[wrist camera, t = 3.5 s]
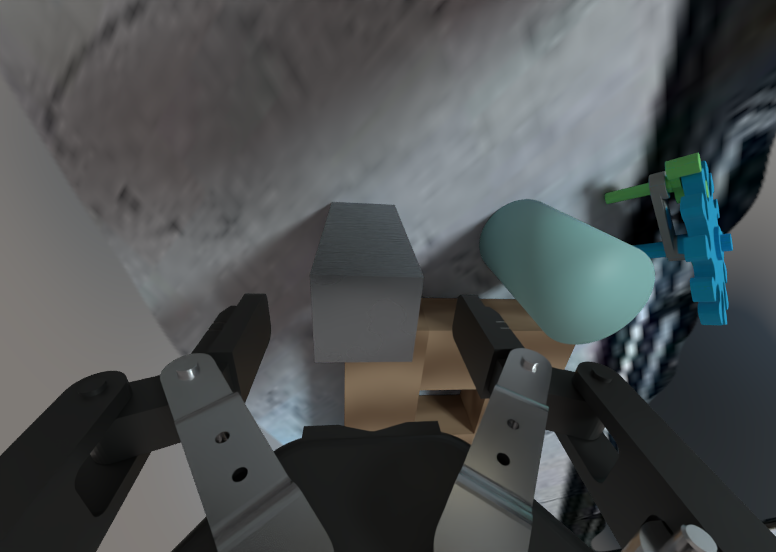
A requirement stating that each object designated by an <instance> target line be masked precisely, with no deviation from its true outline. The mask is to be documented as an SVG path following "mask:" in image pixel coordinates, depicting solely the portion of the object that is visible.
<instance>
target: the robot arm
mask: <svg viewBox="0 0 776 552" xmlns="http://www.w3.org/2000/svg"><path fill="white" fill-rule="evenodd" d="M452 334H453V339H454V341H455V343H456V345H457V348H458V350H459V352H460V354H461V356H462V359H463V361H464V363H465V365H466V368H467V370H468V372H469V374H470V376H471V379H472V381H473V383H474V385H475V387H476V390H477V392H478V394H479V396H480V399H489V402H488V404H487V407H486V409H485V412H484V414H483V417H482V419H481V422H480V424H479V427H478V429H477V432H476V434H475V437H474V439H473V442H472V444H469V443H468V442H466V441H464V440H462V439H461V438H458V437H456V436H454V435H451V434H448V433H444V432H441V430H440V426H439V423H438V421H419V422H405V423H401V424H398V425H394V426H391V427H388V428H384V429H381V430H377V431H367V430H362V429H356V428H351V427H346V426H341V425H325V426H304V429H303V435H302V438H300V439H297V440H294V441H292V442H289V443H287V444H285V445H283V446H281V447H280V448H278V449H276V450H275V451H273V450H272V449H271V447H270V445H269V443H268V442H267V440H266V438H265V437H264V435H263V433H262V432H261V430H260V428H259V427H258V425H257V423H256V421H255V420H254V418H253V416H252V415H251V413H250V411H249V410H248V408H247V406H246V405H245V402H246V399H247V397H248V394H249V392H250V389H251V386H252V384H253V381H254V379H255V376H256V374H257V371H258V369H259V366H260V364H261V361H262V358H263V356H264V353H265V351H266V348H267V346H268V343H269V340H270V336H271V323H270V315H269V308H268V301H267V296H266V294H244V296H243V297H242V299H241V300H240V302H239V304H238V305H237V306H230V307H228V308H227V309H225V310H224V311H222V312H221V313H220V314H219V315H218V317H217V318H216V319H215V321H214V323H213V324H212V325H211V326H210V328H209V331H207V332H206V333H205V335H204V336H203V338H202V339H201V341H200V342H199V343H198V345H197V346H196V348H195V349H194V350H193V352H192V353H191V354H189V355H185V356H182V357H180V358H178V359H176V360H174V361H172V362H171V363H169V364H168V365H167V366H166V367H165V368H164V369H163V370H162V372H161V374H160V375H158V376H155V377H151V378H146V379H142V380H138V381H133V382H128V380H127V377H126V375H125V374H124V373H122V372H118V371H106V372H100V373H97V374H94V375H91V376H88V377H86V378H83V379H81V380H80V381H78V382H76V383H74V384H73V385H71V386H70V387H69V388H68V389H66V390H65V391H64V392H63V393H62V394H61V395H60V396H59V397H58V398H57V399H56V400H55V402H53V403H52V404H51V405H50V406H49V407H48V408H47V409H46V410H45V411H44V412H43V413H42V414H41V415H40V416H39V417H38V418H37V419H36V420H35V421H34V422H33V423H32V424H31V425H30V426H29V427H28V428H27V429H26V430H25V431H24V432H23V433H22V434H21V436H19V437H18V438H17V440H16V441H14V443H12V445H10V446H9V448H8V449H7V450H6V451H5V452H4V453H3V454H2V455H1V456H0V552H96V551H97V549H98V547H99V545H100V544H101V542H102V540H103V538H104V536H105V535H106V533H107V531H108V529H109V527H110V525H111V524H112V522H113V520H114V518H115V516H116V515H117V512H118V511H119V509H120V507H121V506H122V504H123V502H124V500H125V498H126V497H127V494H128V493H129V491H130V489H131V487H132V486H133V484H134V482H135V480H136V478H137V477H138V475H139V473H140V471H141V469H142V468H143V466H144V464H145V462H146V460H147V458H148V457H149V455H150V453H151V451H155V450H158V449H161V448H164V447H168V446H171V445H174V444H177V443H180V442H181V443H182V446H183V449H184V452H185V455H186V458H187V461H188V464H189V467H190V469H191V472H192V476H193V479H194V482H195V485H196V487H197V490H198V493H199V496H200V499H201V502H202V505H203V508H204V511H205V514H206V517H205V518H204V519H203V520H202V521H201V522H200V523H199V524H198V525H197V526H196V528H194V530H192V531H191V532H190V533H189V534H188V535H187V536H186V538H184V539H183V540H182V541H181V542H180V543H179V544H178V545H177V546H176V547H175V548H174V549H173V550H172V551H171V552H594V551H593V550H592V549H591V548H590V547H588V546H587V545H586V544H585V543H584V542H583V541H582V540H580V539H579V538H578V537H577V536H576V535H575V534H574V533H572V532H571V531H570V530H569V529H568V528H567V527H566V526H564V525H563V524H562V523H561V522H560V521H559V520H558V519H556V518H555V517H554V516H553V515H552V514H551V513H550V512H548V511H547V510H546V509H545V508H544V507H543V506H542V505H540V504H539V503H538V502H537V501H536V500H535V499H534V494H535V488H536V482H537V476H538V470H539V464H540V458H541V452H542V446H543V440H544V434H545V430H549V431H553V432H555V434H556V435H557V437H558V439H559V441H560V442H561V444H562V446H563V448H564V449H565V451H566V453H567V455H568V456H569V458H570V460H571V461H572V463H573V465H574V467H575V468H576V470H577V472H578V474H579V475H580V477H581V479H582V481H583V482H584V484H585V486H586V487H587V489H588V491H589V493H590V494H591V496H592V498H593V500H594V501H595V503H596V505H597V507H598V508H599V510H600V512H601V513H602V515H603V517H604V519H605V520H606V522H607V524H608V525H609V527H610V529H611V530H612V533H613V534H614V536H615V538H616V539H617V541H618V543H619V545H620V546H621V548H622V552H776V536H775V535H774V534H773V533H772V532H771V531H770V530H769V529H768V528H767V527H766V526H765V525H764V524H763V523H762V522H761V521H760V520H759V519H758V518H757V517H756V516H755V515H754V514H753V513H752V512H751V510H749V508H748V507H747V506H746V505H744V503H743V502H742V501H741V500H740V499H739V498H738V497H737V496H736V495H735V494H734V493H733V492H732V491H731V490H730V489H729V488H728V487H727V486H726V485H725V484H724V483H723V482H722V480H721V479H720V478H719V477H718V476H717V475H716V474H715V473H714V472H713V471H712V470H711V469H710V468H709V467H708V466H707V465H706V464H705V463H704V462H703V461H702V460H701V459H700V458H699V457H698V456H697V455H696V454H695V452H693V450H692V449H691V448H690V447H689V446H688V445H687V444H686V443H685V442H684V441H683V440H682V439H681V438H680V437H679V436H678V435H677V434H676V433H675V432H674V431H673V430H672V429H671V428H670V427H669V426H668V425H667V424H666V422H664V420H663V419H662V418H661V417H660V416H659V415H658V414H657V413H656V412H655V411H654V410H653V409H652V408H651V407H650V406H649V405H648V404H647V403H646V402H645V401H644V400H643V399H642V398H641V397H640V396H639V395H638V393H637V392H636V391H635V390H634V389H633V388H632V387H631V386H630V385H629V384H628V383H627V382H626V381H625V380H624V379H623V378H622V377H621V376H620V375H619V374H618V373H616V372H615V371H613V370H612V369H610V368H608V367H606V366H604V365H601V364H598V363H595V362H582V363H580V364H579V365H578V367H577V369H576V371H575V372H572V371H567V370H563V369H558V368H554V367H552V365H551V363H550V362H549V361H548V360H547V359H546V358H545V357H544V356H543V355H541V354H539V353H537V352H535V351H533V350H530V349H525V348H524V346H523V345H522V344H521V342H520V341H519V340H518V338H517V337H516V336H515V334H514V333H513V332H512V330H511V329H509V326H508V325H507V324H506V323H505V321H504V320H503V318H502V317H501V316H500V314H499V313H498V312H496V311H495V310H493V309H492V308H491V307H485V305H484V304H483V302H482V301H481V300H480V298H479V297H478V296H477V295H460V296H459V297H458V299H457V303H456V309H455V314H454V319H453V325H452ZM605 427H606V429H607V430H608V431H609V433H610V434H611V435H612V437H613V438H614V440H615V441H616V443H617V445H618V448H619V454H618V452H617V451H616V450H615V448H614V447H613V445H612V444H611V443H610V441H609V440H608V439H607V437H606V436H605V435H604V433H603V432H602V431H603V429H604V428H605Z"/></svg>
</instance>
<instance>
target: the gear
mask: <svg viewBox="0 0 776 552" xmlns="http://www.w3.org/2000/svg"><path fill="white" fill-rule="evenodd" d="M671 192H674V193H675V199H676V202H677V204H678V203H680V212H681V216H682V219H683V221H684V223H685V225H686V229H687V233H688V234H683V235H675V230H674V226H673V222H672V218H671V214H670V209H669V205H668V201H667V199H668V198H670V193H671ZM713 193H714V185H713V180H712V175H711V173H708V167H707V164H706V161H702V162H701V161H700V156H699V153H695V154H692V155H688V156H685V157H681V158H677V159H674V160H670V161H667V162H665V171H663V172H659V173H655V174H652V175H649V183H646V184H642V185H638V186H634V187H629V188H625V189H621V190H617V191H613V192H609V193H606V194H605V201H606V203H607V204H610V203H615V202H619V201H624V200H628V199H633V198H637V197H642V196H646V195H651V199H652V203H653V206H654V210H655V214H656V218H657V222H658V226H659V230H660V234H661V238H662V242H657V243H649V244H641V245H633V246H634V247H636V248H638V249H640V250H641V251H643V252H644V253H645V254H646V255H647V256H648V257H649V258H660V257H667V260H668V261H678V260H686V262H691V263H692V265H693V268H694V275H695V278H691V279H690V287H691V294H692V299H693V302H699V303H698V314H699V318H700V322H701V324H702V325H723V324H727V316H726V310H728V297H727V292H726V287H725V283H727V270H726V266H725V263H724V251H732V250H733V247H732V238H731V234H722V232H721V230H720V227H719V226H718V221H717V218H719V208H718V202H717V199H715V200H713Z"/></svg>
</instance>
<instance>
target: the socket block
mask: <svg viewBox="0 0 776 552" xmlns="http://www.w3.org/2000/svg"><path fill="white" fill-rule="evenodd" d="M457 299H458V298H421V303H420V310H419V317H418V324H417V331H416V338H415V346H414V353H413V360H412V362H345V420H344V426H346V427H351V428H356V429H362V430H367V431H377V430H381V429H384V428H388V427H391V426H394V425H398V424H401V423H405V422H419V421H438V423H439V426H440V430H441V432H444V433H448V434H451V435H454V436H456V437H458V438H461V439H462V440H464V441H466V442H468V443H469V444H472V442H473V439H474V437H475V434H476V432H477V429H478V427H479V424H480V422H481V419H482V417H483V414H484V412H485V409H486V407H487V404H488V402H489V399H480V396H479V394H478V392H477V390H476V387H475V385H474V383H473V381H472V379H471V376H470V374H469V372H468V370H467V368H466V365H465V363H464V361H463V359H462V356H461V354H460V352H459V350H458V348H457V345H456V343H455V341H454V339H453V334H452V325H453V319H454V314H455V309H456V303H457ZM480 300H481V301H482V302H483V304H484V305H485V307H491V308H492V309H493V310H495V311H496V312H498V313H499V314H500V316H501V317H502V318H503V320H504V321H505V323H506V324H507V325H508V326H509V329H511V330H512V332H513V333H514V334H515V336H516V337H517V338H518V340H519V341H520V342H521V344H522V345H523V346H524V348H525V349H530V350H533V351H535V352H537V353H539V354H541V355H543V356H544V357H545V358H546V359H547V360H548V361H549V362H550V363H551V365H552V367H554V368H558V369H563V370H564V369H565V367H566V364H567V362H568V360H569V358H570V356H571V353H572V351H573V349H574V347H575V345H574V344H564V343H560V342H557V341H555V340H553V339H551V338H550V337H549V336H547V335H546V334H545V333H544V331H543V330H542V329H541V328H540V327H539V326H538V324H537V323H536V322H535V321H534V320H533V319H532V317H531V316H530V315H529V314H528V313H527V312H526V310H525V309H524V308H523V307H522V306H521V304H520V303H519V302H518V301H517V300H516V299H480ZM420 390H461V393H460V395H424V396H419V391H420Z"/></svg>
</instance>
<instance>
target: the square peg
mask: <svg viewBox="0 0 776 552" xmlns="http://www.w3.org/2000/svg"><path fill="white" fill-rule="evenodd" d="M423 281H424V276H423V273H422V271H421V269H420V266H419V264H418V261H417V259H416V256H415V254H414V251H413V249H412V246H411V244H410V241H409V239H408V237H407V234H406V232H405V229H404V227H403V224H402V222H401V219H400V217H399V214H398V212H397V209H396V207H395V205H385V204H364V203H343V202H332V204H331V207H330V210H329V214H328V217H327V220H326V223H325V227H324V230H323V233H322V237H321V240H320V243H319V246H318V250H317V253H316V256H315V260H314V263H313V266H312V269H311V273H310V287H311V305H312V323H313V342H314V360H315V363H336V362H412V360H413V353H414V346H415V338H416V331H417V324H418V317H419V310H420V303H421V296H422V289H423Z"/></svg>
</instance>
